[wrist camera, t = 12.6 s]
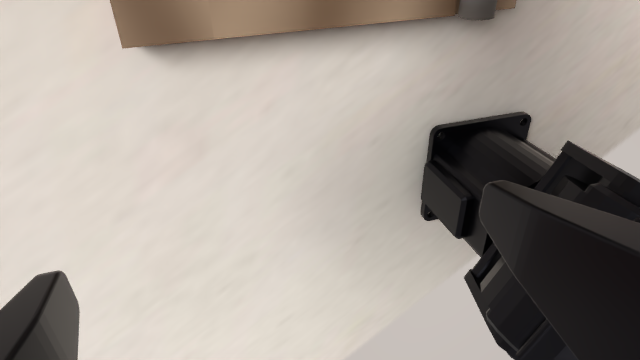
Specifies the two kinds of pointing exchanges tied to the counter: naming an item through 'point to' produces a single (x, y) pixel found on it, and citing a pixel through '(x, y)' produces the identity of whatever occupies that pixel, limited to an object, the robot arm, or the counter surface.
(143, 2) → the shelf frame
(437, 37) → the counter surface
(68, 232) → the counter surface
